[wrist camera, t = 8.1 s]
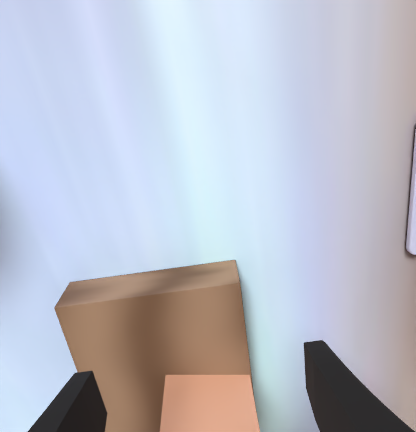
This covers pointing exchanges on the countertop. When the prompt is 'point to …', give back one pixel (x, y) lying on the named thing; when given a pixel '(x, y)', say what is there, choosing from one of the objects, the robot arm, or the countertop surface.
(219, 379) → the terracotta cube
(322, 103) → the countertop surface
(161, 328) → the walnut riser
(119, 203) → the countertop surface
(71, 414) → the robot arm
